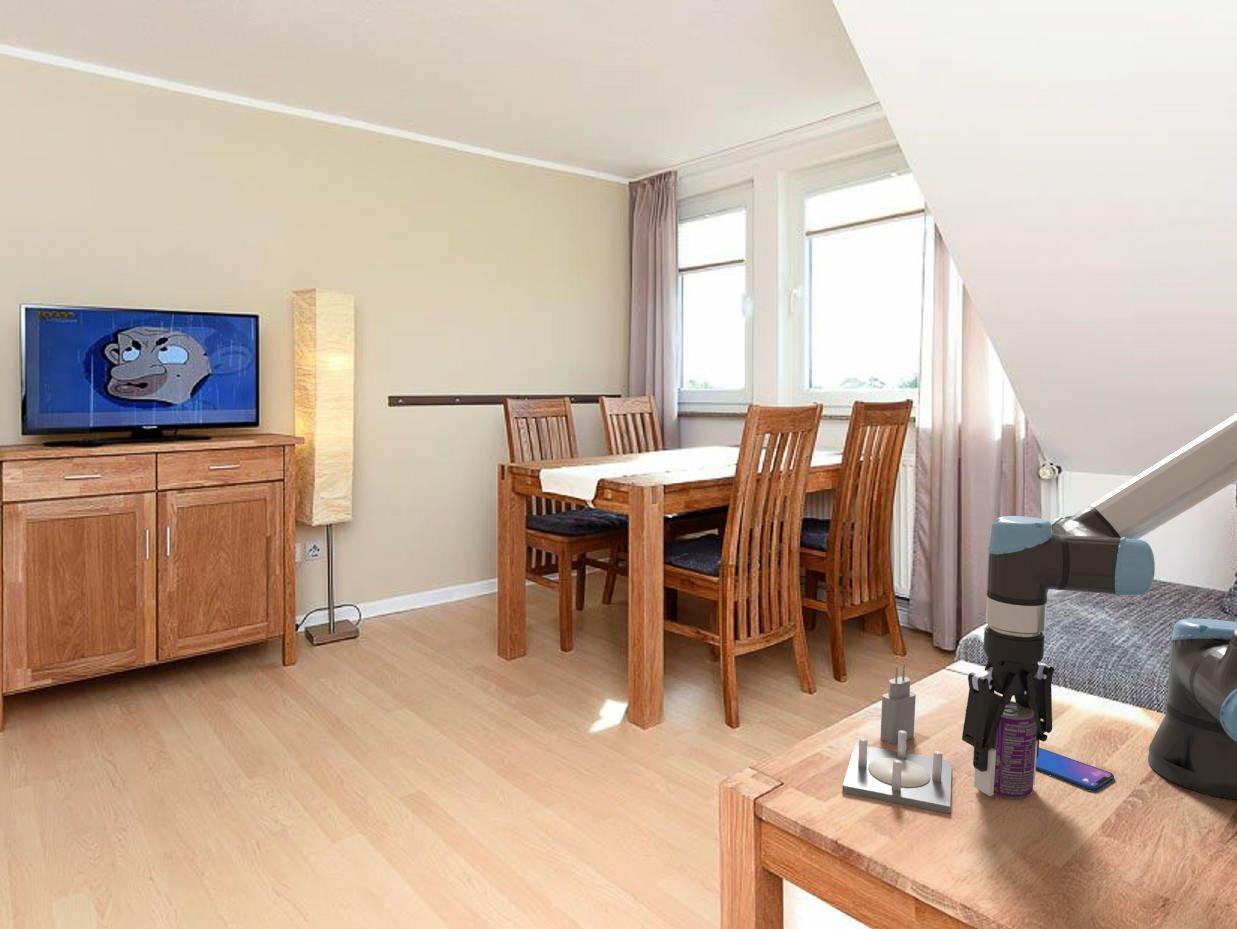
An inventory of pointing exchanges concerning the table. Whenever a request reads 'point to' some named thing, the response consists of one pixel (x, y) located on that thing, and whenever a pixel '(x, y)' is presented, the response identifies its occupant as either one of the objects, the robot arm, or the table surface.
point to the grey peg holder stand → (899, 776)
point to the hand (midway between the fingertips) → (1004, 785)
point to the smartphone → (1072, 771)
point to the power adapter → (898, 709)
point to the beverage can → (1015, 752)
